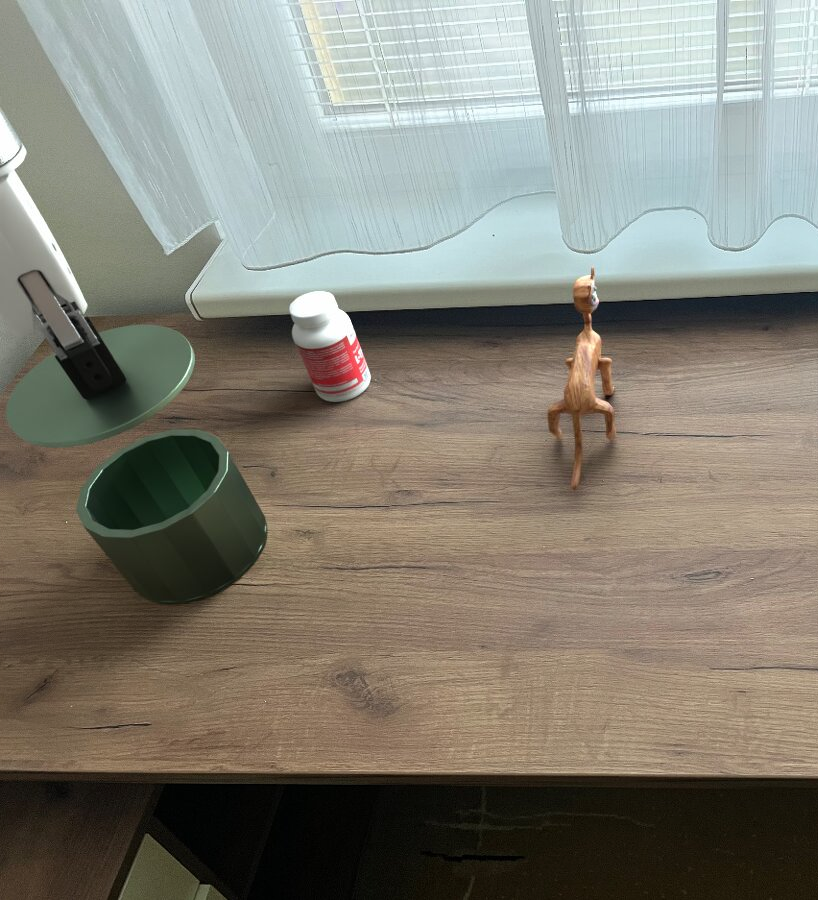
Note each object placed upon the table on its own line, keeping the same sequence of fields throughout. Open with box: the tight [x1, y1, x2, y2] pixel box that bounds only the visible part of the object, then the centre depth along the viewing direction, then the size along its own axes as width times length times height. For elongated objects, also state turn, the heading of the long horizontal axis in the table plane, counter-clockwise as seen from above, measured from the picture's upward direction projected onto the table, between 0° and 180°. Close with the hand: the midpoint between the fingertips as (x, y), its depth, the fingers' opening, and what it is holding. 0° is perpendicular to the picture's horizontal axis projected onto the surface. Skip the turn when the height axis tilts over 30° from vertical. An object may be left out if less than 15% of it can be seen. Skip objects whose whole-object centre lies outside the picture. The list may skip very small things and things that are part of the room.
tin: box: [75, 429, 268, 606], centre depth 78 cm, size 13×13×10 cm
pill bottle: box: [288, 290, 371, 403], centre depth 93 cm, size 6×6×11 cm
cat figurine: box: [546, 266, 617, 491], centre depth 83 cm, size 18×7×14 cm, turn 173°
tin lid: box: [5, 319, 196, 449], centre depth 65 cm, size 14×14×6 cm
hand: (98, 377), depth 66 cm, fingers closed on tin lid, 2 cm apart
